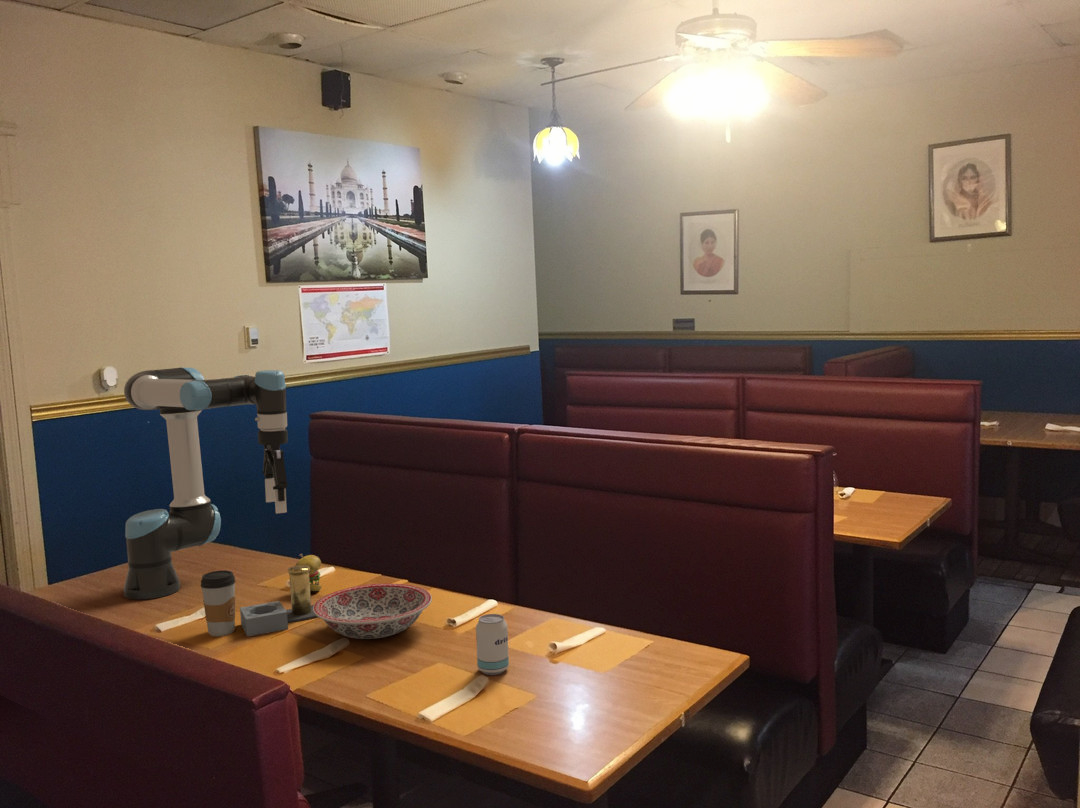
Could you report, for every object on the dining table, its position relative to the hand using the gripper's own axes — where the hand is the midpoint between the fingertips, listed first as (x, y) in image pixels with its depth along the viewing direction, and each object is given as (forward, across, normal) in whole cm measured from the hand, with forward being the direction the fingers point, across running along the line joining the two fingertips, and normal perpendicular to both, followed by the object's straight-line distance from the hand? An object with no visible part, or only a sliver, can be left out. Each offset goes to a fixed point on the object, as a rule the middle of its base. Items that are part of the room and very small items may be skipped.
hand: (276, 507), depth 238 cm
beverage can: (+26, +68, +33) cm, 80 cm away
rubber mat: (+28, +8, +4) cm, 29 cm away
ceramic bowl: (+28, +31, +17) cm, 45 cm away
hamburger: (+29, -10, +10) cm, 32 cm away
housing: (+28, +12, -6) cm, 31 cm away
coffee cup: (+28, +10, -17) cm, 34 cm away
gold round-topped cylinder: (+28, +7, +4) cm, 29 cm away
